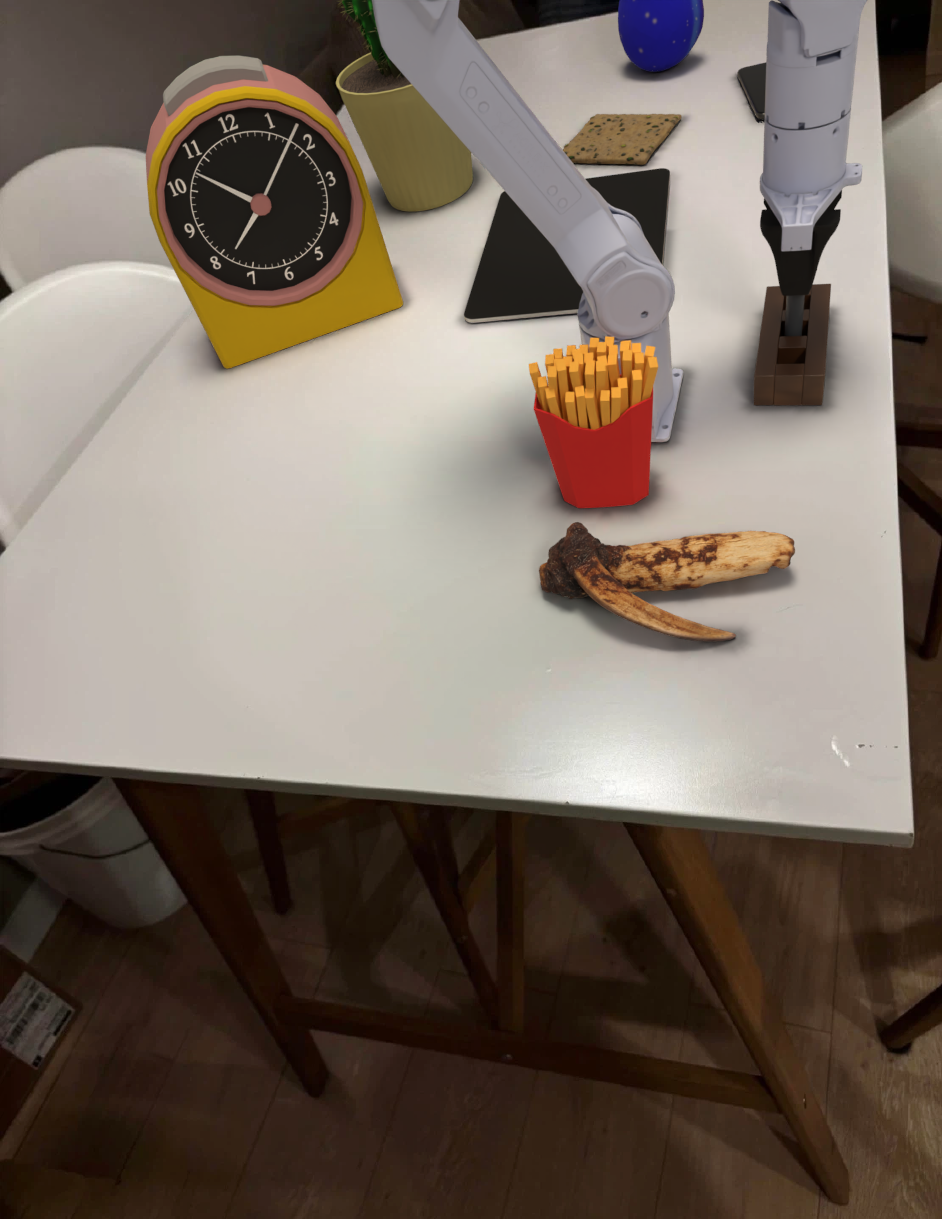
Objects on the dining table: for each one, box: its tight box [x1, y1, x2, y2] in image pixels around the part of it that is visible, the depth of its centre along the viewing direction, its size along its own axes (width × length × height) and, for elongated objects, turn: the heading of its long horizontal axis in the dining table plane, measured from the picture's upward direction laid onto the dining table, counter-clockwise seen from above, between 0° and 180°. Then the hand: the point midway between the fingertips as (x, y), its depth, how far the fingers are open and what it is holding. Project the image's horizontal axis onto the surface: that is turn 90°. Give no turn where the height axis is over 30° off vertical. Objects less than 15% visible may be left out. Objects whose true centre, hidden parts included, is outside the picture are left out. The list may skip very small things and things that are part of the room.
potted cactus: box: [335, 0, 474, 213], centre depth 103 cm, size 15×15×30 cm
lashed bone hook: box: [538, 521, 796, 643], centre depth 62 cm, size 9×5×18 cm
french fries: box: [528, 336, 658, 509], centre depth 67 cm, size 9×4×13 cm, turn 82°
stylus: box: [784, 295, 805, 336], centre depth 73 cm, size 1×1×9 cm
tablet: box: [463, 167, 671, 324], centre depth 97 cm, size 27×1×20 cm
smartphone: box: [736, 62, 766, 120], centre depth 110 cm, size 7×1×15 cm
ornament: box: [617, 0, 705, 73], centre depth 117 cm, size 11×9×15 cm
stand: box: [753, 283, 832, 406], centre depth 76 cm, size 5×13×3 cm, turn 164°
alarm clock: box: [145, 55, 404, 369], centre depth 90 cm, size 21×9×26 cm, turn 105°
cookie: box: [562, 113, 682, 166], centre depth 111 cm, size 12×12×1 cm
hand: (796, 286), depth 72 cm, fingers closed on stylus, 1 cm apart
